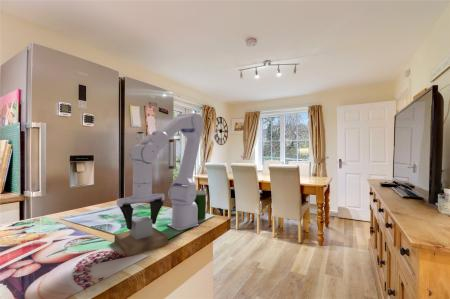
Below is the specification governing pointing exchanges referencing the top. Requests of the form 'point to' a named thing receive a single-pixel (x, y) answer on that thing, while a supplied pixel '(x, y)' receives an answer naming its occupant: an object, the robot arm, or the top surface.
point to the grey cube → (141, 227)
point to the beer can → (201, 204)
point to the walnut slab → (140, 242)
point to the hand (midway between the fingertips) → (141, 225)
